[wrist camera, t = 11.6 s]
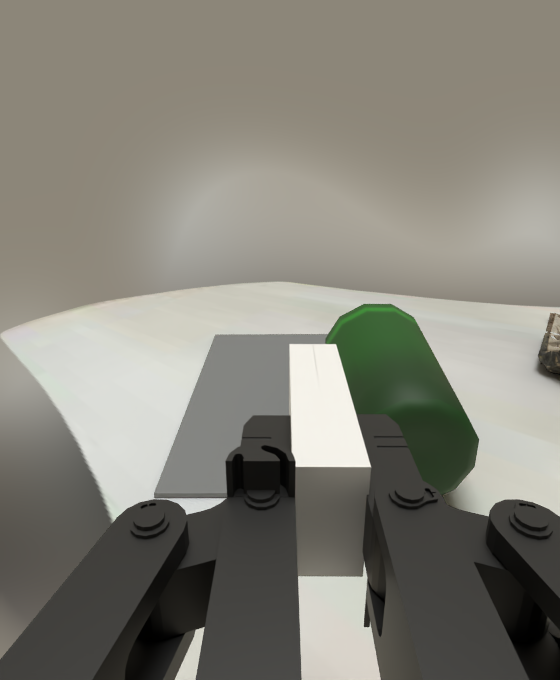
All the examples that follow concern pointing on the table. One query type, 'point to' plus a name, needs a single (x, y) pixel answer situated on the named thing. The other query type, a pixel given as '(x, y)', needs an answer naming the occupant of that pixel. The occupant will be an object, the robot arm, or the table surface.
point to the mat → (227, 409)
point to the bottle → (406, 390)
